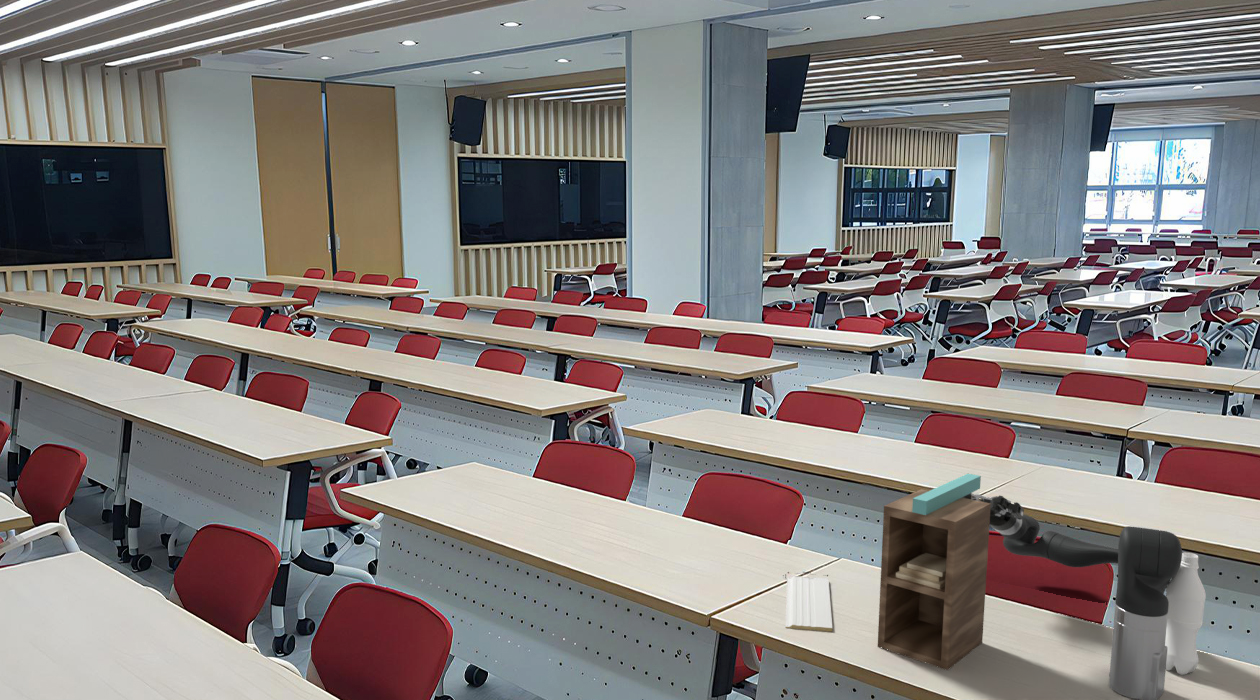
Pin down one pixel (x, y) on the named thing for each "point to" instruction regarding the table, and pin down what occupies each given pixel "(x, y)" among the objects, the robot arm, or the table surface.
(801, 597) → the baseboard molding
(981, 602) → the rack
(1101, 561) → the robot arm
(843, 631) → the table surface
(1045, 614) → the table surface
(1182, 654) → the water bottle
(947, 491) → the rectangular block
